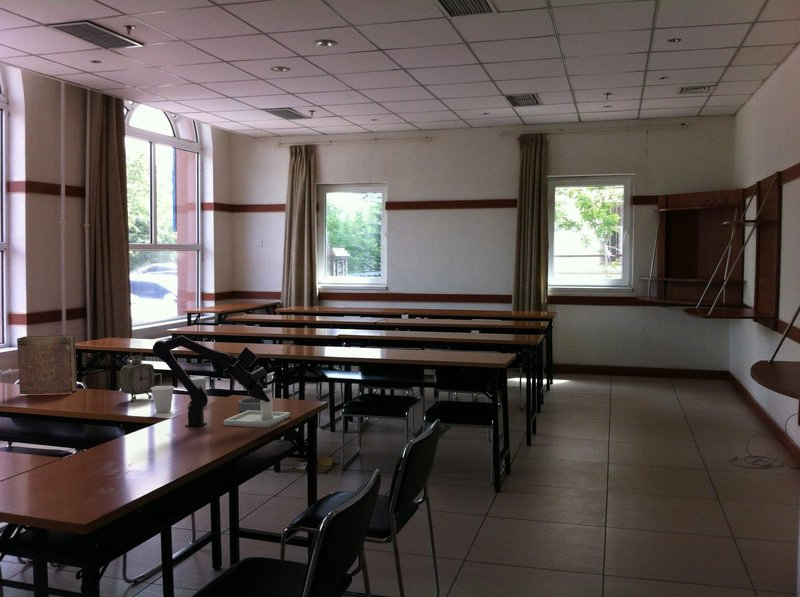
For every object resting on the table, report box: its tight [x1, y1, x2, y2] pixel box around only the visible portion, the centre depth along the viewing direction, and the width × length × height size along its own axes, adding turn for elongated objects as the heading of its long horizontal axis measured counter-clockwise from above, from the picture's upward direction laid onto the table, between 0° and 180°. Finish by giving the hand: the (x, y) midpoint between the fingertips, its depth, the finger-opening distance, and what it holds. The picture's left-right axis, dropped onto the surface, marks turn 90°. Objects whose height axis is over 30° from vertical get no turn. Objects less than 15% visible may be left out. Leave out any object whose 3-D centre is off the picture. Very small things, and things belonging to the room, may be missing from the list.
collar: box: [238, 397, 261, 413], centre depth 316 cm, size 14×14×4 cm
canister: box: [260, 387, 274, 419], centre depth 293 cm, size 5×5×12 cm
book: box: [16, 334, 78, 395], centre depth 363 cm, size 25×9×30 cm, turn 100°
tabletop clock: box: [119, 348, 156, 403], centre depth 342 cm, size 14×9×25 cm, turn 150°
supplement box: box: [189, 376, 207, 403], centre depth 329 cm, size 7×7×13 cm
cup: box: [151, 385, 175, 414], centre depth 313 cm, size 10×10×11 cm
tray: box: [223, 410, 291, 429], centre depth 292 cm, size 20×20×2 cm
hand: (268, 400), depth 294 cm, fingers open, 6 cm apart
